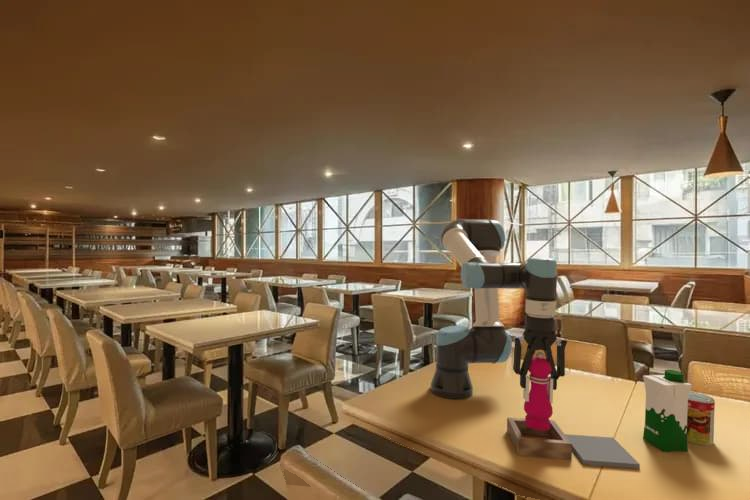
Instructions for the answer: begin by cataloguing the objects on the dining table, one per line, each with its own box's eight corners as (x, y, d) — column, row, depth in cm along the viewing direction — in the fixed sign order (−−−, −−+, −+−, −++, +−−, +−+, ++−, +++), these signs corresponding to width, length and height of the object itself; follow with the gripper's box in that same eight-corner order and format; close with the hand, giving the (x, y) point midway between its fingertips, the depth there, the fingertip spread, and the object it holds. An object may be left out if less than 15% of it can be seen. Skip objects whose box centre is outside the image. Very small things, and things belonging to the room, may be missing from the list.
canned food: (675, 429, 115) (676, 389, 115) (709, 436, 111) (711, 394, 111) (679, 440, 108) (681, 398, 108) (716, 448, 104) (718, 404, 104)
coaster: (583, 464, 95) (583, 459, 95) (563, 438, 108) (563, 434, 108) (639, 469, 94) (639, 464, 94) (612, 441, 107) (613, 437, 107)
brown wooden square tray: (518, 455, 99) (518, 440, 99) (506, 431, 112) (507, 417, 112) (571, 459, 98) (572, 443, 97) (553, 434, 110) (554, 420, 110)
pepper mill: (555, 433, 101) (557, 357, 100) (525, 429, 102) (528, 355, 102) (548, 420, 108) (550, 349, 107) (521, 417, 109) (523, 347, 109)
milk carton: (694, 452, 102) (696, 377, 101) (662, 453, 101) (664, 378, 101) (666, 436, 110) (668, 366, 110) (636, 437, 110) (638, 367, 109)
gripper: (508, 316, 101) (505, 403, 102) (582, 319, 99) (579, 408, 100) (502, 311, 109) (499, 392, 110) (570, 313, 107) (568, 396, 107)
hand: (537, 400), depth 105 cm, fingers closed on pepper mill, 5 cm apart
